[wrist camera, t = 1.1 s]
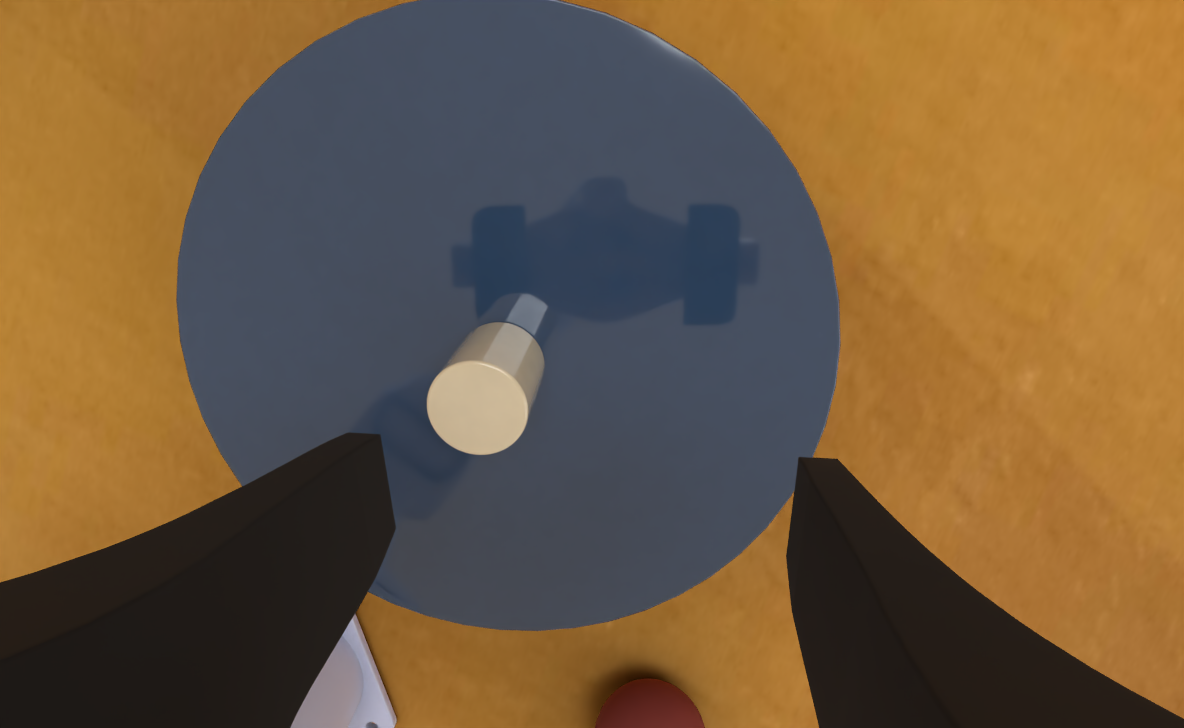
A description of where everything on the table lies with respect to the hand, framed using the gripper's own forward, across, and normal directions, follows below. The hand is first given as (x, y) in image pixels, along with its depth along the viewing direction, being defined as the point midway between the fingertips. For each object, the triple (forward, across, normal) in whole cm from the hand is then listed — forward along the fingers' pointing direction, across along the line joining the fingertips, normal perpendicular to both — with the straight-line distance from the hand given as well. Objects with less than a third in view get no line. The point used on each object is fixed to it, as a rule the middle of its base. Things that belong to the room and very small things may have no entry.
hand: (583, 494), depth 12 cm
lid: (+8, +3, +1) cm, 8 cm away
